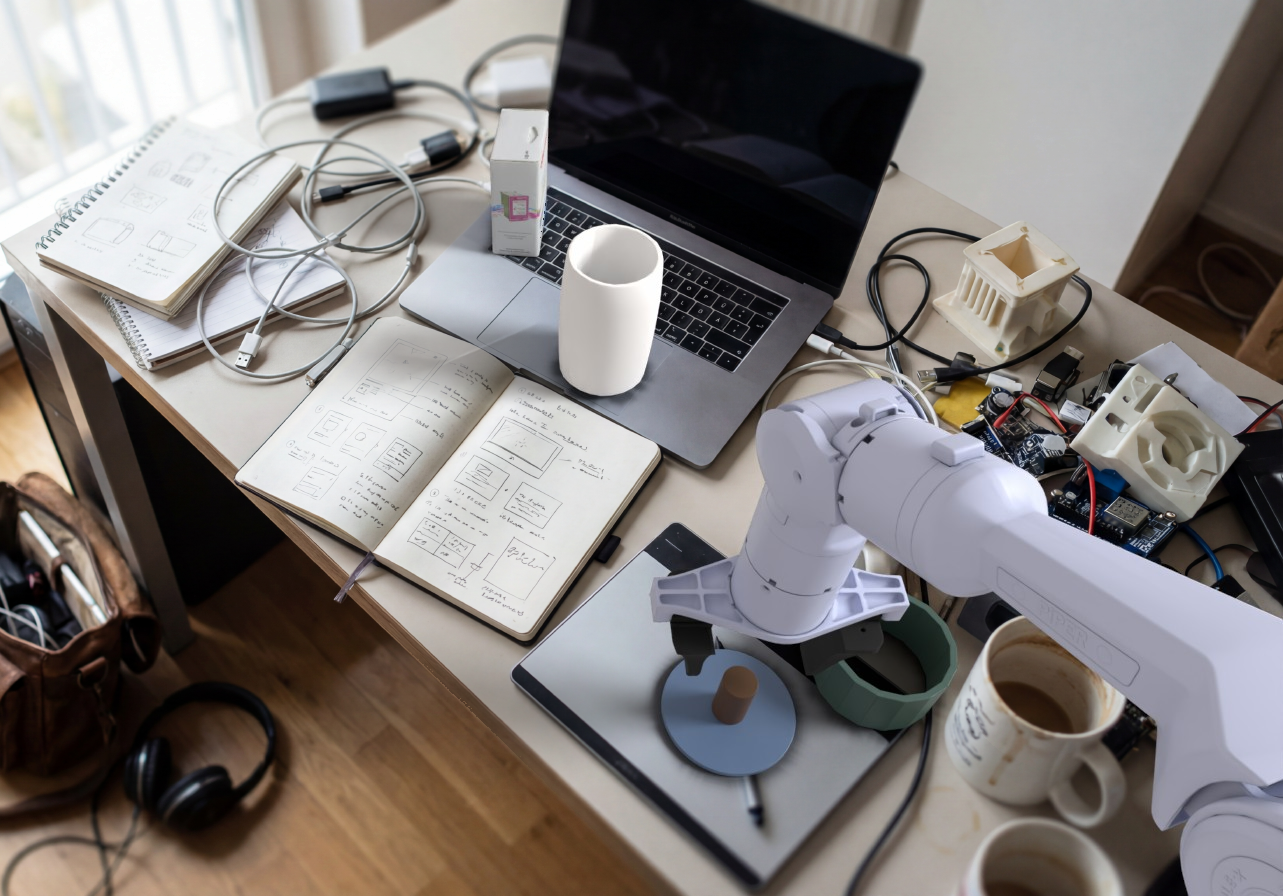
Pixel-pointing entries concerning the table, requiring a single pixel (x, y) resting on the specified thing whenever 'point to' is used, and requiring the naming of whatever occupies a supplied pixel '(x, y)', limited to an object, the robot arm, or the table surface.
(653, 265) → the cup
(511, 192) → the ink box
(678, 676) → the lid
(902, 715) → the container
